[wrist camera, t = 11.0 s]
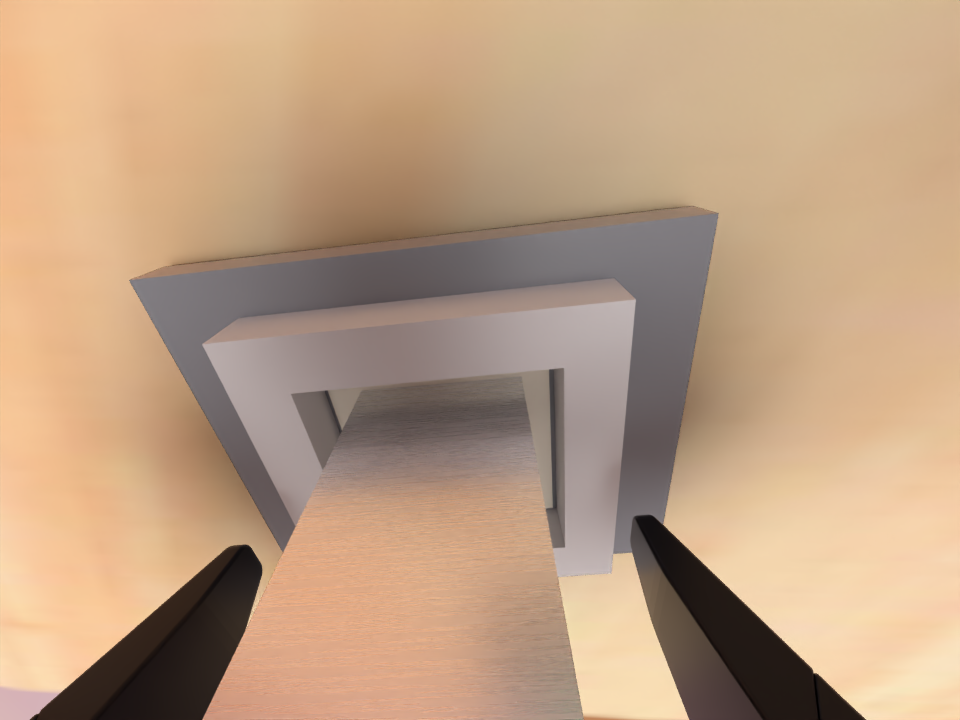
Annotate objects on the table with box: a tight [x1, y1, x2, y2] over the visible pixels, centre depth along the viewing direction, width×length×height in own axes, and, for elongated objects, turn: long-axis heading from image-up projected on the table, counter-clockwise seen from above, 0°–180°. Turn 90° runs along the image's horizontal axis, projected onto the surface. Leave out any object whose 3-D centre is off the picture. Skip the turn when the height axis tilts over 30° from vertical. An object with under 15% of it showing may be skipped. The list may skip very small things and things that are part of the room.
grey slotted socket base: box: [129, 206, 719, 577], centre depth 12 cm, size 14×12×3 cm
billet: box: [203, 377, 584, 720], centre depth 8 cm, size 4×4×8 cm
